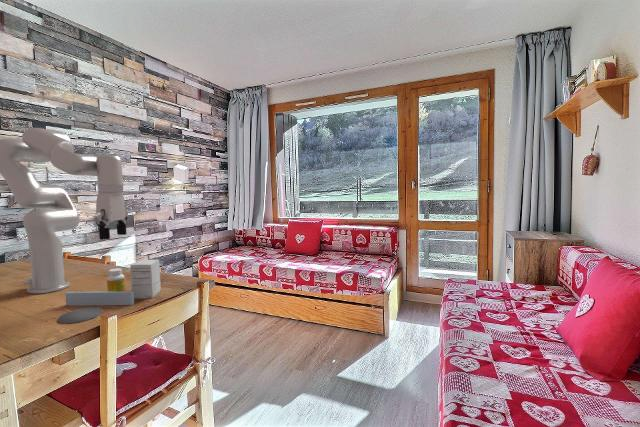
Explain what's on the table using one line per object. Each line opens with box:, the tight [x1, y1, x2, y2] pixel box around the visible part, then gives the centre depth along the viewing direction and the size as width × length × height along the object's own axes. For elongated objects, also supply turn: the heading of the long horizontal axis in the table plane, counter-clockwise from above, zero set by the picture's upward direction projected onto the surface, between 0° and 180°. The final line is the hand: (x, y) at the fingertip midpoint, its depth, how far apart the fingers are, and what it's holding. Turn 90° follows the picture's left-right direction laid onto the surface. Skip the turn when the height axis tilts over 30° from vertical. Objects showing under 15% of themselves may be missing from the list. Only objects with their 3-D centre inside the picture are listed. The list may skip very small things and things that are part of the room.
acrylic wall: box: [64, 290, 135, 307], centre depth 105 cm, size 22×1×4 cm, turn 92°
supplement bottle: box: [106, 267, 126, 291], centre depth 114 cm, size 5×5×10 cm
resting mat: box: [57, 306, 103, 324], centre depth 96 cm, size 11×11×1 cm
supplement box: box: [129, 259, 162, 299], centre depth 114 cm, size 7×7×13 cm
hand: (113, 236), depth 112 cm, fingers open, 9 cm apart
